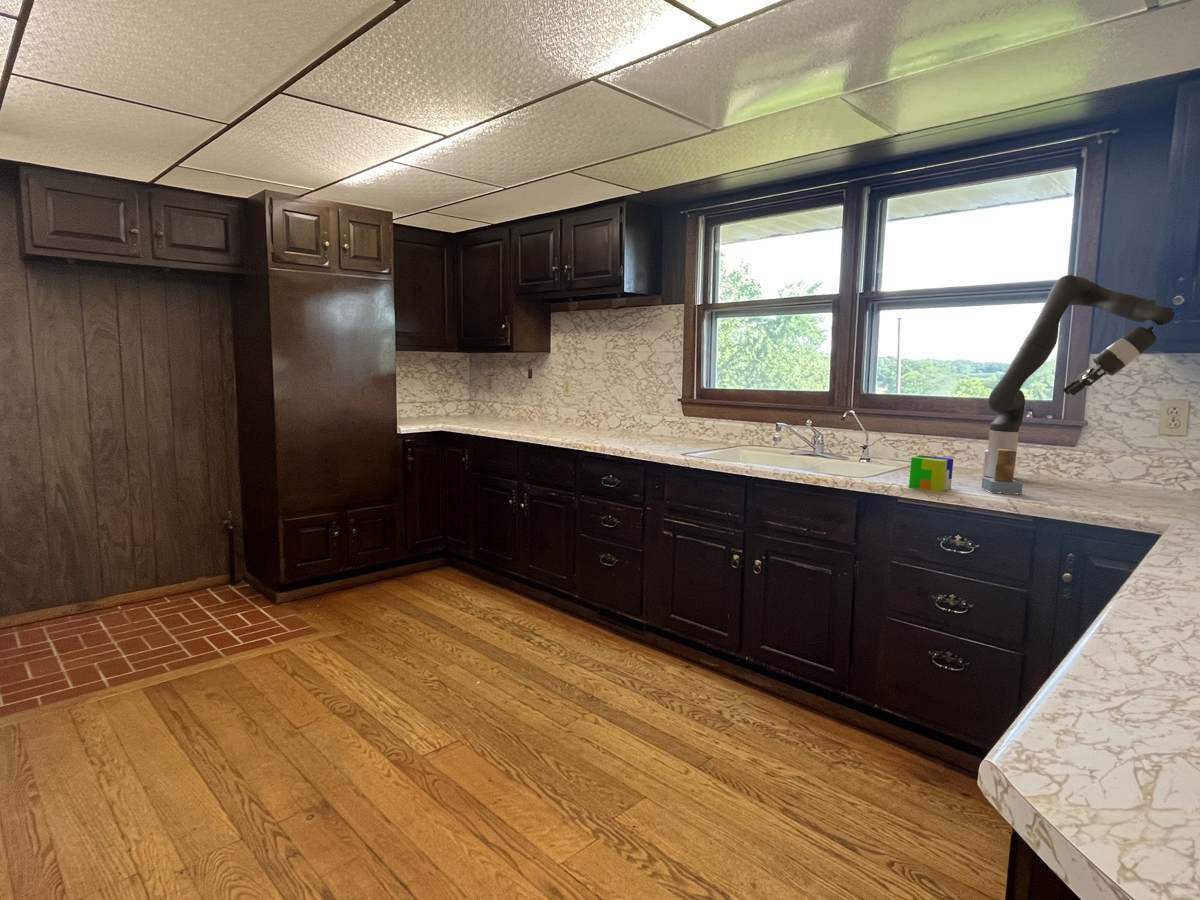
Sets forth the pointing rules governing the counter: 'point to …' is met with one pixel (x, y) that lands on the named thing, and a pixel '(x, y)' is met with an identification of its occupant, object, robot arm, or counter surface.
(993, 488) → the slate plinth
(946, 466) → the puzzle toy
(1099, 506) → the counter surface
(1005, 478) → the walnut block
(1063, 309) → the robot arm
